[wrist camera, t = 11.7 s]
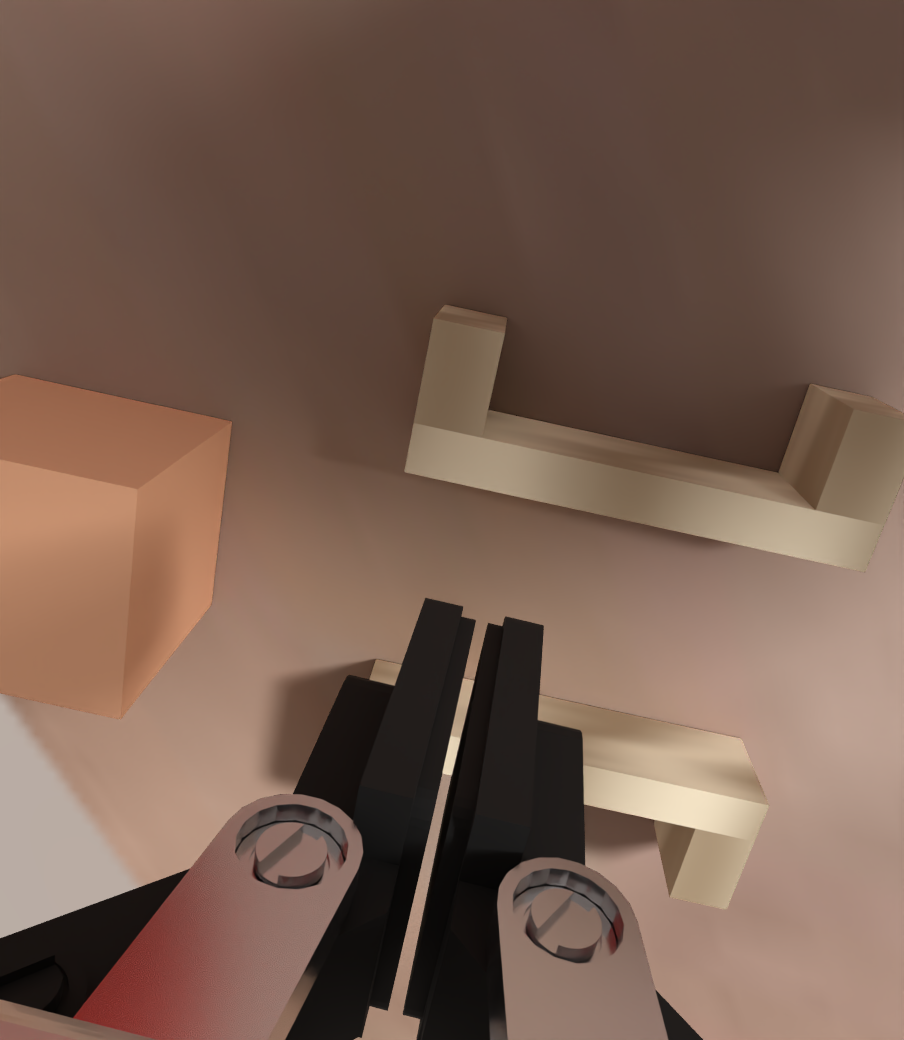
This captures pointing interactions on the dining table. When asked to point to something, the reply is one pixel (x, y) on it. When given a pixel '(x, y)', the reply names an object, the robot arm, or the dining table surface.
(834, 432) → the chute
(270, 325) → the dining table surface
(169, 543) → the block
